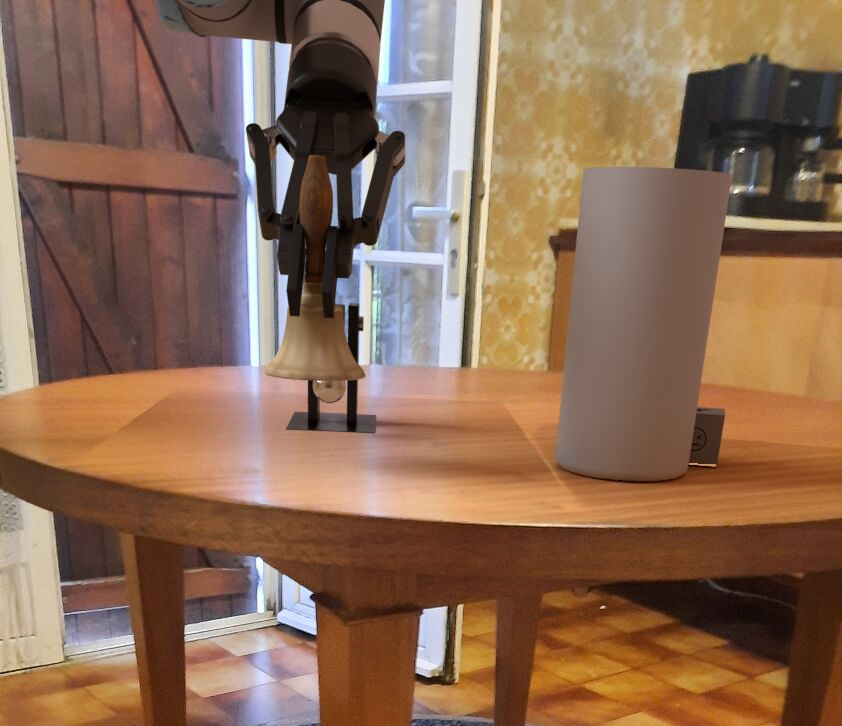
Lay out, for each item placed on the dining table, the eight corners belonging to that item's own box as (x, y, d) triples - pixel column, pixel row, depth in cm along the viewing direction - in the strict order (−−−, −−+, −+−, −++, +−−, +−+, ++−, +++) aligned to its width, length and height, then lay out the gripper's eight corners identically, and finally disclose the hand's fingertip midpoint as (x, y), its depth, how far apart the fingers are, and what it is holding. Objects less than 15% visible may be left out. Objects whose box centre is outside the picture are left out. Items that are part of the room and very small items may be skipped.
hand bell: (253, 369, 90) (249, 153, 83) (346, 369, 93) (350, 161, 86) (280, 382, 83) (279, 148, 76) (379, 382, 86) (387, 157, 79)
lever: (345, 410, 103) (345, 383, 100) (312, 409, 103) (311, 381, 100) (350, 328, 110) (350, 300, 108) (319, 327, 110) (318, 299, 107)
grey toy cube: (716, 459, 109) (724, 408, 107) (716, 468, 105) (725, 415, 103) (666, 455, 110) (674, 404, 108) (665, 463, 106) (672, 411, 104)
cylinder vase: (668, 460, 108) (708, 180, 97) (702, 486, 97) (751, 172, 86) (546, 455, 107) (572, 172, 96) (565, 480, 96) (597, 164, 85)
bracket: (374, 445, 108) (378, 308, 102) (285, 442, 107) (283, 304, 102) (375, 426, 118) (379, 302, 113) (294, 423, 118) (293, 298, 112)
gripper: (421, 124, 93) (407, 343, 86) (249, 115, 93) (220, 334, 86) (422, 42, 86) (408, 272, 79) (237, 32, 86) (204, 262, 79)
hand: (310, 304), depth 82 cm, fingers closed on hand bell, 2 cm apart
